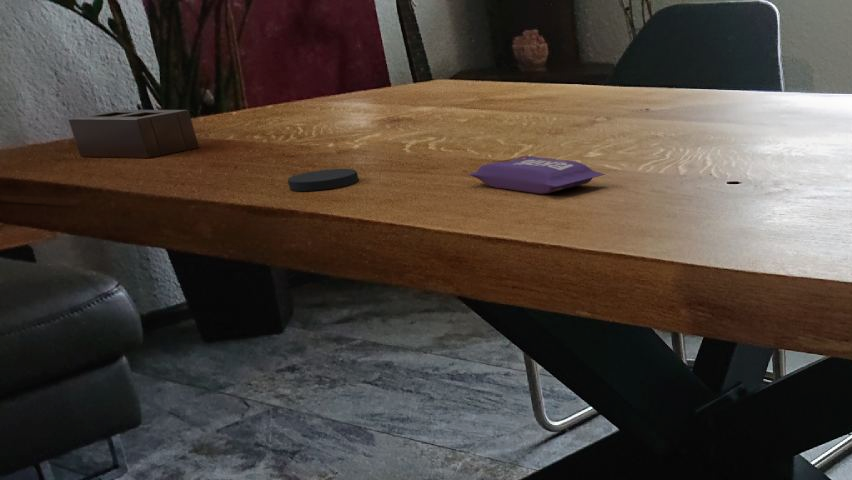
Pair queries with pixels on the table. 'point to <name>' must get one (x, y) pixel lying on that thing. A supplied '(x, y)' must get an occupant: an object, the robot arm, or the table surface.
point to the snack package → (535, 174)
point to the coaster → (323, 180)
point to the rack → (134, 133)
